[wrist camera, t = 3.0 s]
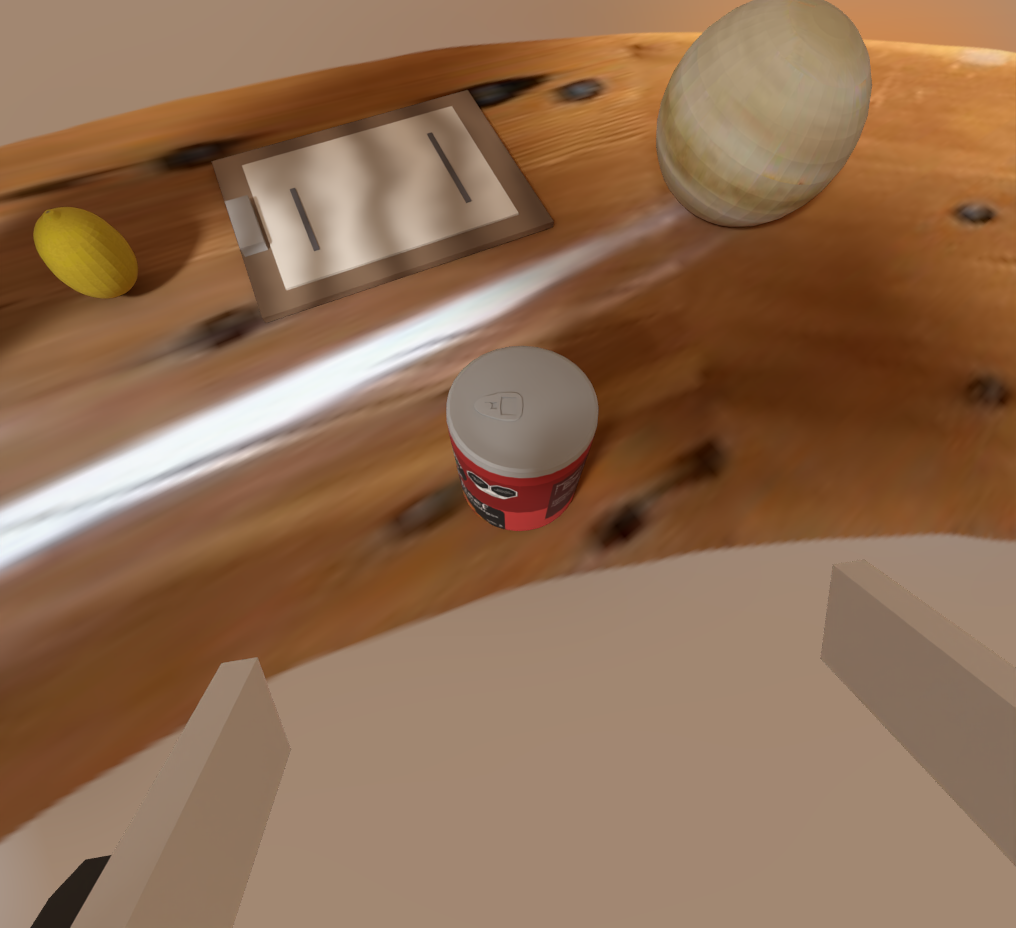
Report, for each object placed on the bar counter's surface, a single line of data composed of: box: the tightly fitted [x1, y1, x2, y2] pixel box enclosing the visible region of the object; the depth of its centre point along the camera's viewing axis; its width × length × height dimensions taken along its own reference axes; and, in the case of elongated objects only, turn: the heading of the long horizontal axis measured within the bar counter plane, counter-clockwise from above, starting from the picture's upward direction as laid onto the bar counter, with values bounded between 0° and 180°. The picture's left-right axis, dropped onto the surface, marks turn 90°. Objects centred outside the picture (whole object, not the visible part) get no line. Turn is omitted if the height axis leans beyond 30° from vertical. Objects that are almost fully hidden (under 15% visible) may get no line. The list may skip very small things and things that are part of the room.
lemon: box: [33, 207, 138, 298], centre depth 40 cm, size 6×6×8 cm
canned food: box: [446, 346, 598, 531], centre depth 32 cm, size 8×8×11 cm
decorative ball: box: [656, 0, 872, 227], centre depth 41 cm, size 15×15×15 cm
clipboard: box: [212, 90, 554, 323], centre depth 48 cm, size 26×20×2 cm
